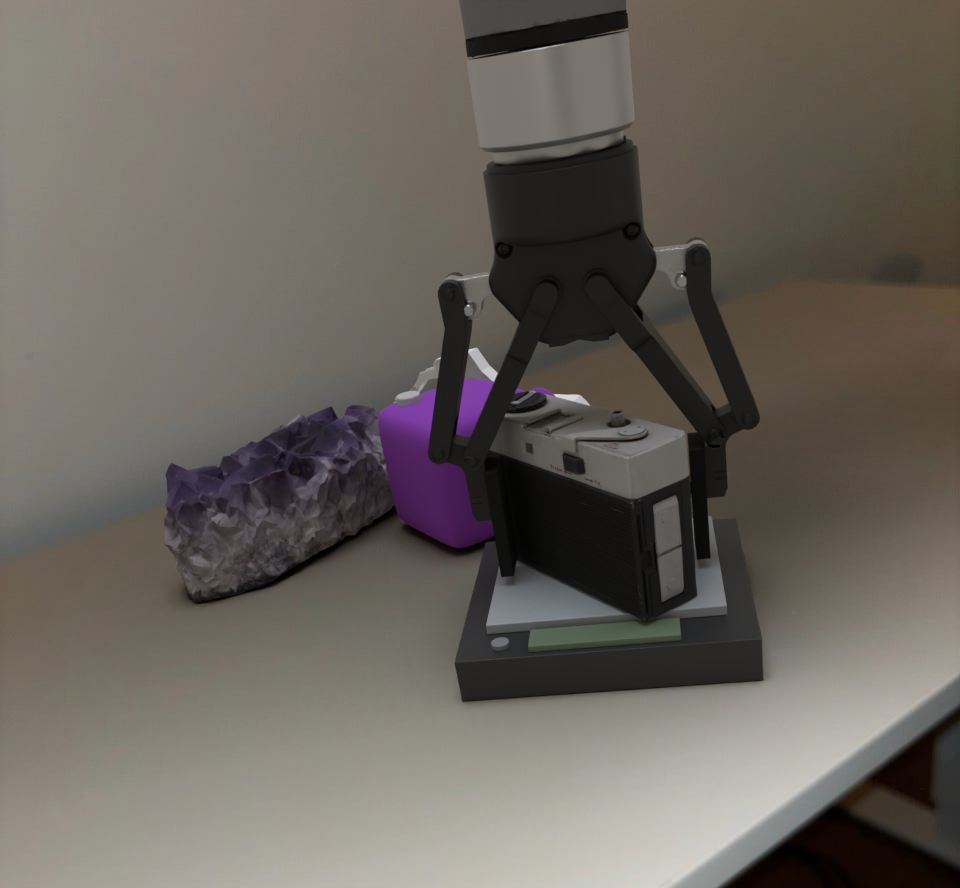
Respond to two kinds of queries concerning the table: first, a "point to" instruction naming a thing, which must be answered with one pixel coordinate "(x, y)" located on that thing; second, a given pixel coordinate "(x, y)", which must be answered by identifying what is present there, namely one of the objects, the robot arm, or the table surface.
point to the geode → (276, 501)
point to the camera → (600, 501)
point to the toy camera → (433, 466)
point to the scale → (607, 632)
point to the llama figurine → (476, 374)
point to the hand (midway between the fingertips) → (604, 557)
